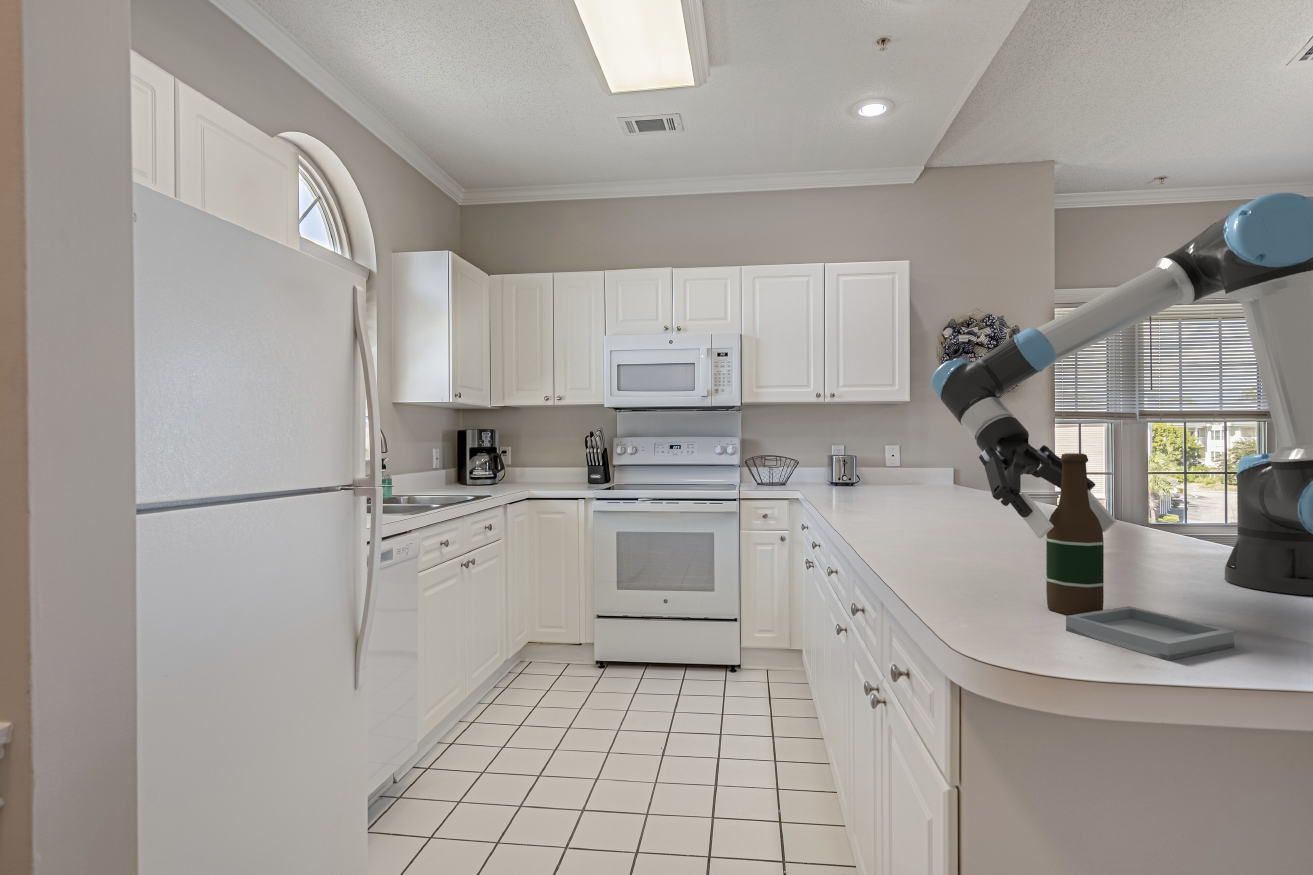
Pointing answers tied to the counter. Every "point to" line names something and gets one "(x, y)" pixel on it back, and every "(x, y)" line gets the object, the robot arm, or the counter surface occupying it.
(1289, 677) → the counter surface
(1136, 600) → the counter surface
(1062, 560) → the beer bottle
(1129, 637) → the keeper tray
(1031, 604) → the counter surface
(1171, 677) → the counter surface
